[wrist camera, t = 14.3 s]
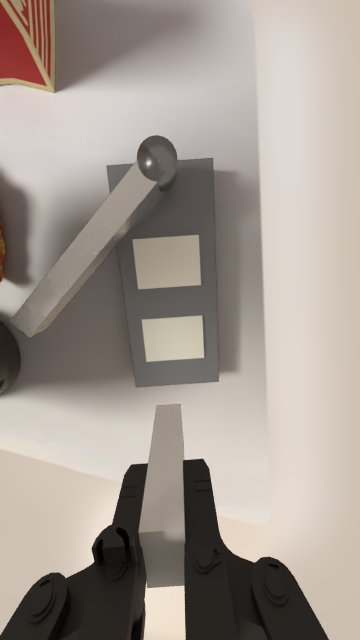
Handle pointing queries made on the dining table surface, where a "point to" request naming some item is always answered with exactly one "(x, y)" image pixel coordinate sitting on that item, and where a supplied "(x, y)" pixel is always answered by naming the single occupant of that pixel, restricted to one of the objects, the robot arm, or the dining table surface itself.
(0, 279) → the croissant
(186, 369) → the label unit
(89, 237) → the swing arm
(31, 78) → the milk carton
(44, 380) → the dining table surface
